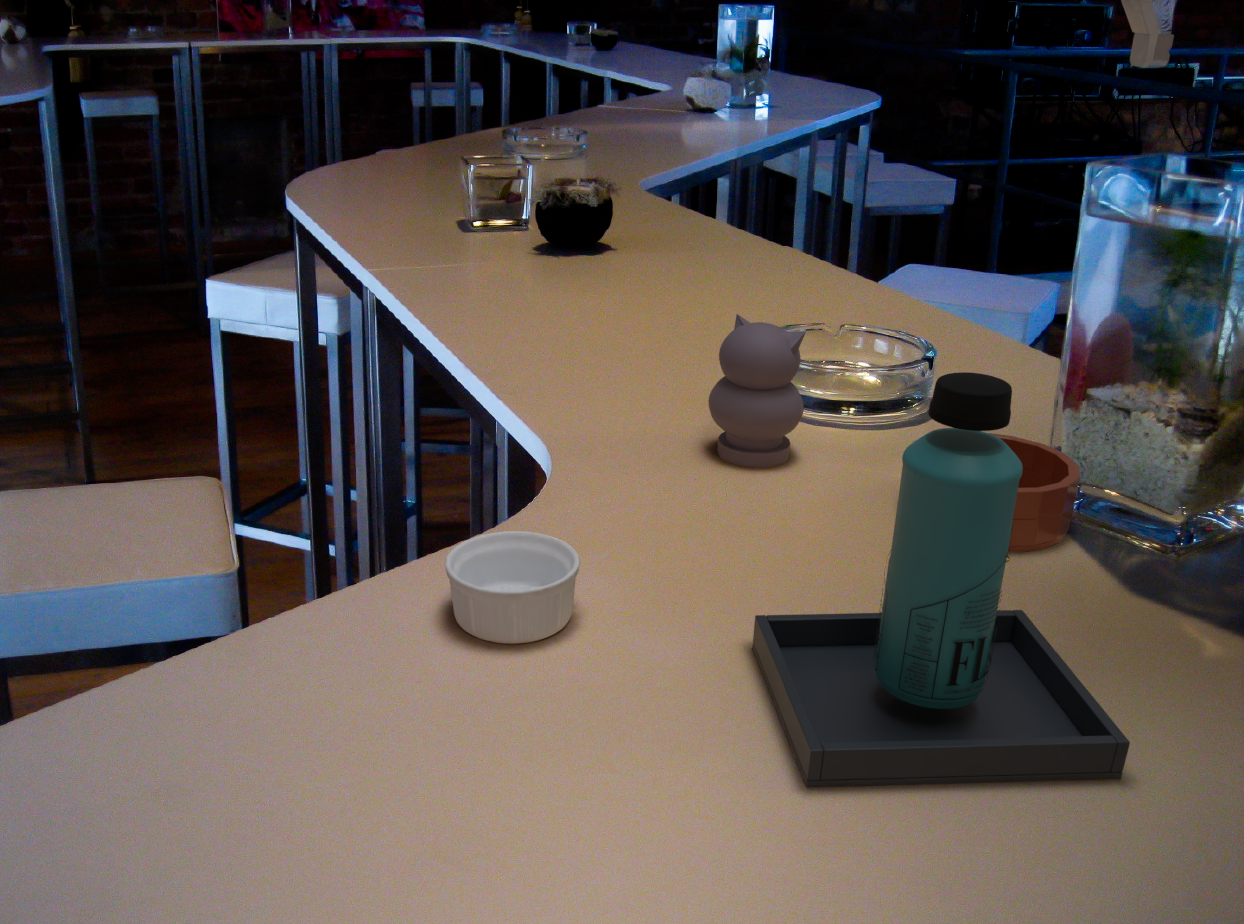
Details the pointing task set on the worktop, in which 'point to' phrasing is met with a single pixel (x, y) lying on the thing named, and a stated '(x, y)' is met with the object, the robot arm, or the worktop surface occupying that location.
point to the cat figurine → (757, 394)
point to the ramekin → (512, 585)
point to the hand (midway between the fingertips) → (1226, 66)
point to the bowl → (1041, 495)
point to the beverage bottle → (949, 547)
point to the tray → (930, 710)
